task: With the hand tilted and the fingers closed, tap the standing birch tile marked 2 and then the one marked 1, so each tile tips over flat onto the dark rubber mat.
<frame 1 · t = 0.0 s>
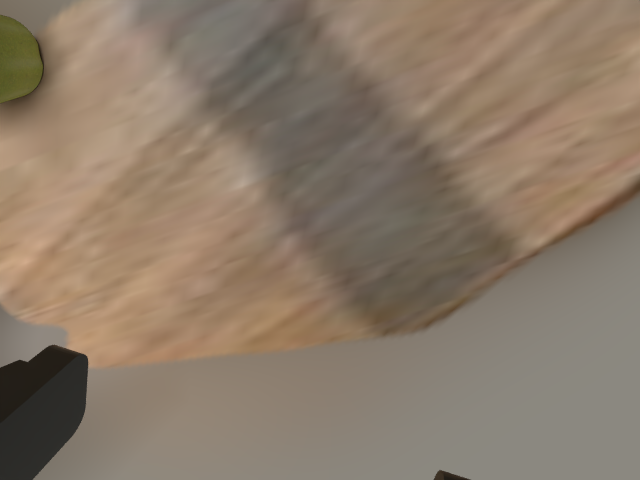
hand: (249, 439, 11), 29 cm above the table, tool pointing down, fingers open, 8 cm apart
plant pot: (13, 58, 40), on the table
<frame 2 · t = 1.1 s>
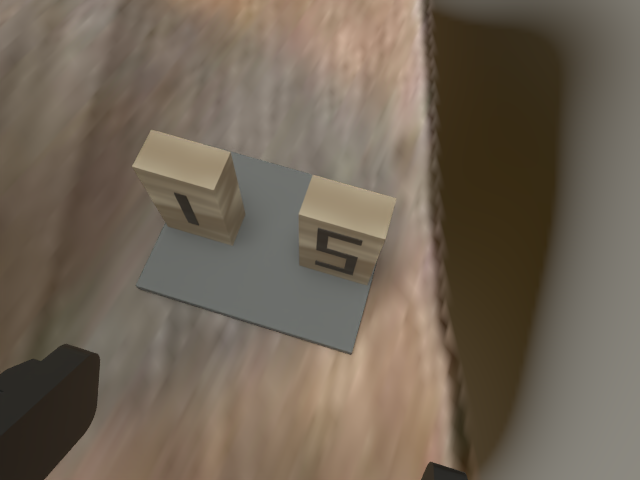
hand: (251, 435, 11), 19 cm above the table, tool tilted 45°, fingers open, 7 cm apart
tile 1: (207, 220, 33), point 1 cm above the table, touching mat
tile 2: (338, 258, 32), point 1 cm above the table, touching mat
mat: (271, 243, 33), on the table
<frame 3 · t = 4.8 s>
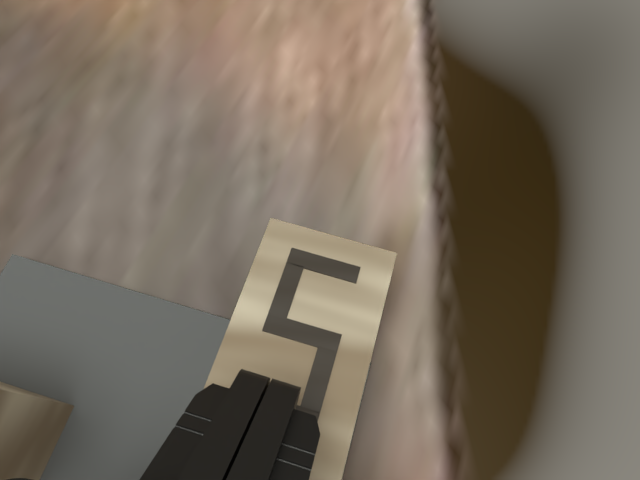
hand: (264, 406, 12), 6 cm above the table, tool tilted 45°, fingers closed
tile 2: (262, 467, 15), point 2 cm above the table, tilted 94°, touching mat
mat: (125, 464, 17), on the table
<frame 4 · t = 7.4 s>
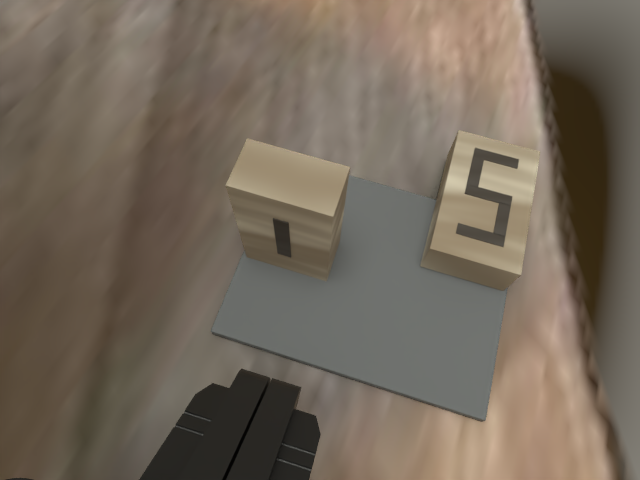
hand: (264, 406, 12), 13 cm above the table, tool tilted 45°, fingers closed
tile 1: (293, 249, 27), point 1 cm above the table, touching mat
tile 2: (467, 270, 25), point 2 cm above the table, tilted 90°, touching mat
mat: (371, 277, 27), on the table
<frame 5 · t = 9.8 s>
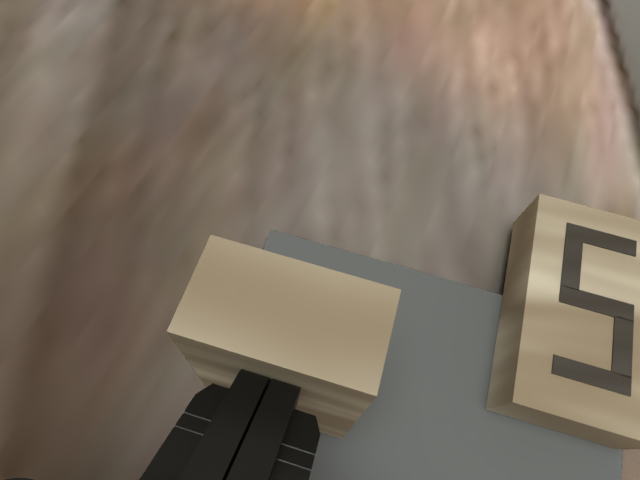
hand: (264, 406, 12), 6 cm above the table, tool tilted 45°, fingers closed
tile 1: (288, 384, 17), point 1 cm above the table, touching gripper, mat
tile 2: (567, 427, 16), point 2 cm above the table, tilted 90°, touching mat
mat: (410, 425, 18), on the table
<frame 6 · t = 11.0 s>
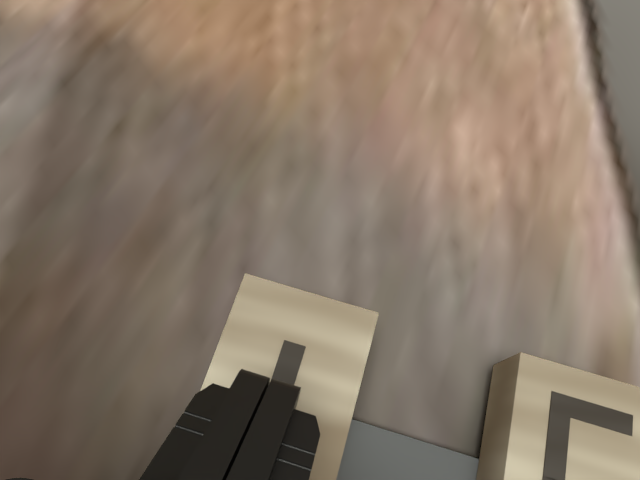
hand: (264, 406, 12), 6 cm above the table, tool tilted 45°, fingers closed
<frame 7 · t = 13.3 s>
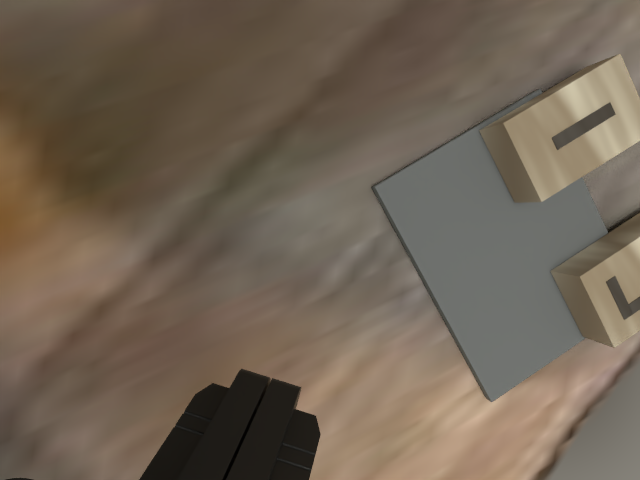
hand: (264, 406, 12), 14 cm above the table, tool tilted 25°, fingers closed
tile 1: (509, 165, 26), point 2 cm above the table, tilted 90°, touching mat
tile 2: (581, 308, 28), point 2 cm above the table, tilted 90°, touching mat
mat: (509, 246, 29), on the table
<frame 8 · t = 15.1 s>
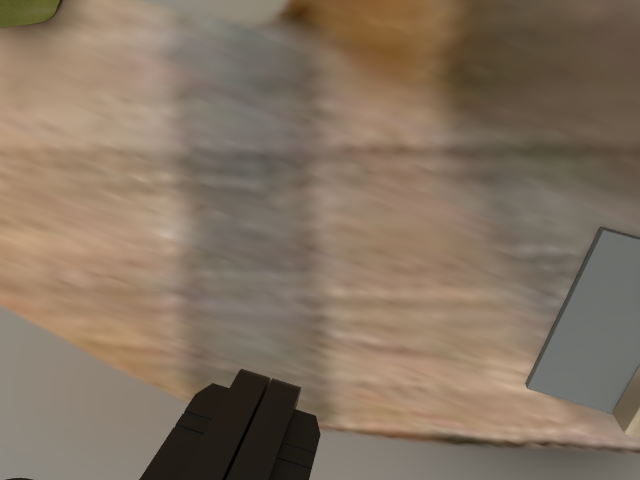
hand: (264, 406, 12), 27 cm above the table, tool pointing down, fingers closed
tile 2: (631, 399, 37), point 2 cm above the table, tilted 90°, touching mat
mat: (633, 332, 37), on the table
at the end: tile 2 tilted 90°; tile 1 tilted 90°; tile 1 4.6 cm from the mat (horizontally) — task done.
